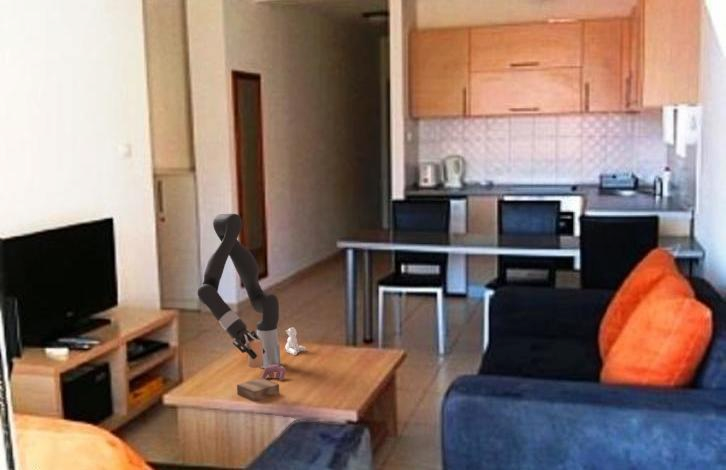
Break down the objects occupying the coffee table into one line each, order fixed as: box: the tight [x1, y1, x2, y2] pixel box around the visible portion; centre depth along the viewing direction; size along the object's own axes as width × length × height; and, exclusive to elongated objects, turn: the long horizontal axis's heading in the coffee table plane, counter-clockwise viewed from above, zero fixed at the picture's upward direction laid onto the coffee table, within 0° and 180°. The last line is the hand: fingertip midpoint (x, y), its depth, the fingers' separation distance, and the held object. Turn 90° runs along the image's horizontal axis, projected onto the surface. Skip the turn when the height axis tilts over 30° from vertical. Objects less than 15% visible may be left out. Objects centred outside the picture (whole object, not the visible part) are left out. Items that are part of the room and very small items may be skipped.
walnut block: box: [236, 377, 280, 402], centre depth 302 cm, size 12×12×4 cm
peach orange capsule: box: [247, 339, 263, 369], centre depth 300 cm, size 6×6×10 cm
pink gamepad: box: [261, 364, 287, 382], centre depth 321 cm, size 10×5×7 cm, turn 72°
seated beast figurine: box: [284, 327, 306, 356], centre depth 359 cm, size 10×9×12 cm
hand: (259, 355), depth 300 cm, fingers closed on peach orange capsule, 5 cm apart
